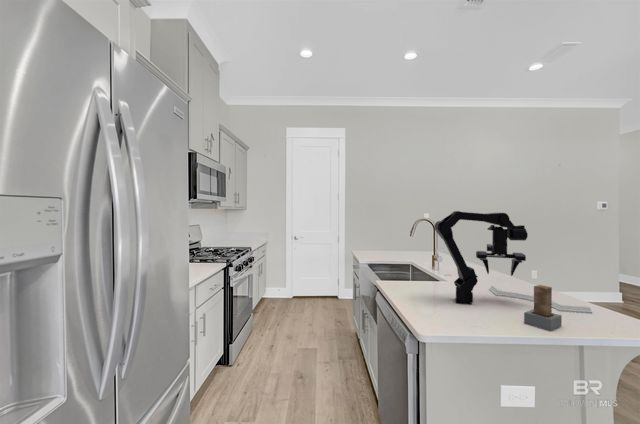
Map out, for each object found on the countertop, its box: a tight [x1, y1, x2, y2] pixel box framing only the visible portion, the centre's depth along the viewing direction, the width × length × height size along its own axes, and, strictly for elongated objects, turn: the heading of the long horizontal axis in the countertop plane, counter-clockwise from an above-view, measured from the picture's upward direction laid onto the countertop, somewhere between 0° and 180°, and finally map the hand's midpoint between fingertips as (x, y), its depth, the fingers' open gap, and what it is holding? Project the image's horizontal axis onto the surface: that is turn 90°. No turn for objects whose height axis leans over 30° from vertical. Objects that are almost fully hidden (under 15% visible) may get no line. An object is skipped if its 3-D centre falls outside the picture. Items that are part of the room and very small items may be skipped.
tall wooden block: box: [533, 284, 553, 318], centre depth 108 cm, size 4×4×13 cm
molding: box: [488, 285, 593, 315], centre depth 138 cm, size 42×12×3 cm, turn 30°
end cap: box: [523, 308, 563, 332], centre depth 108 cm, size 8×8×4 cm
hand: (499, 274), depth 134 cm, fingers open, 9 cm apart
